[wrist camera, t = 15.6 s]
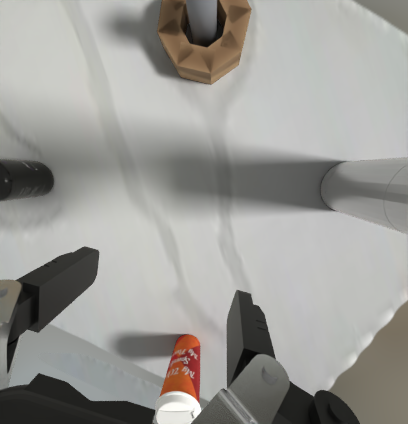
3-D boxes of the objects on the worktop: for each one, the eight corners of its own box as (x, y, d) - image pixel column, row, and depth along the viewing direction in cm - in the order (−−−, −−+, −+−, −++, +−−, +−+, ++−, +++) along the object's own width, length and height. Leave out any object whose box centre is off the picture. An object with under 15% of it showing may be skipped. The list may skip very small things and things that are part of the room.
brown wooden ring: (253, 1, 32) (258, -23, 28) (232, 89, 34) (234, 79, 30) (174, -17, 32) (168, -44, 28) (159, 72, 34) (152, 59, 31)
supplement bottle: (49, 158, 39) (-24, 152, 27) (59, 192, 40) (-5, 201, 28) (17, 164, 39) (-68, 161, 27) (28, 198, 40) (-48, 209, 29)
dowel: (219, 27, 33) (221, -76, 19) (213, 55, 33) (212, -26, 20) (195, 22, 33) (181, -85, 19) (190, 49, 34) (173, -35, 20)
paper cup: (197, 326, 44) (190, 396, 31) (209, 354, 46) (207, 432, 32) (165, 335, 45) (144, 406, 32) (178, 362, 47) (162, 441, 33)
